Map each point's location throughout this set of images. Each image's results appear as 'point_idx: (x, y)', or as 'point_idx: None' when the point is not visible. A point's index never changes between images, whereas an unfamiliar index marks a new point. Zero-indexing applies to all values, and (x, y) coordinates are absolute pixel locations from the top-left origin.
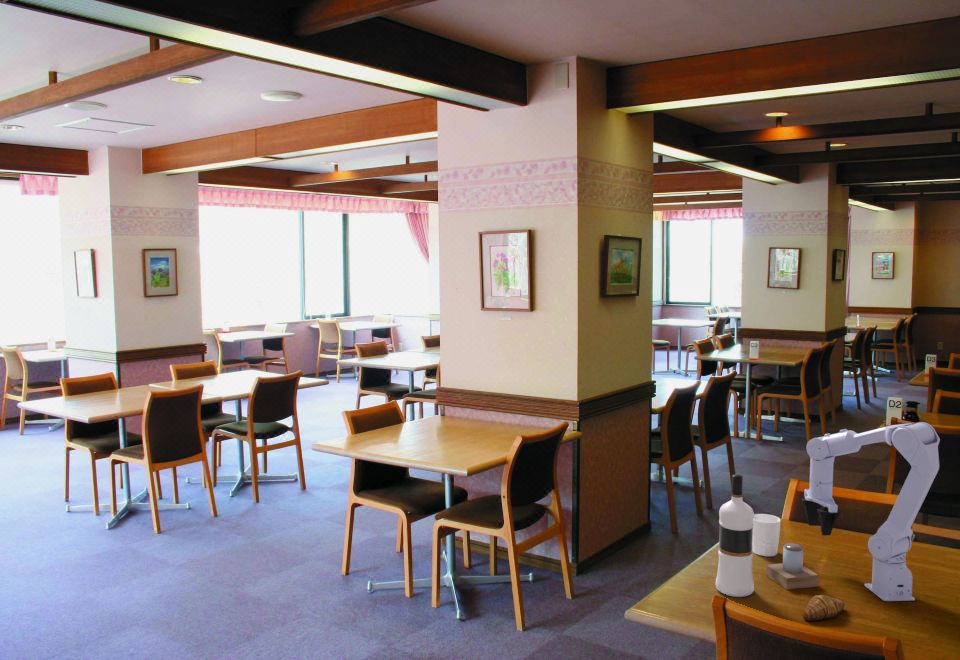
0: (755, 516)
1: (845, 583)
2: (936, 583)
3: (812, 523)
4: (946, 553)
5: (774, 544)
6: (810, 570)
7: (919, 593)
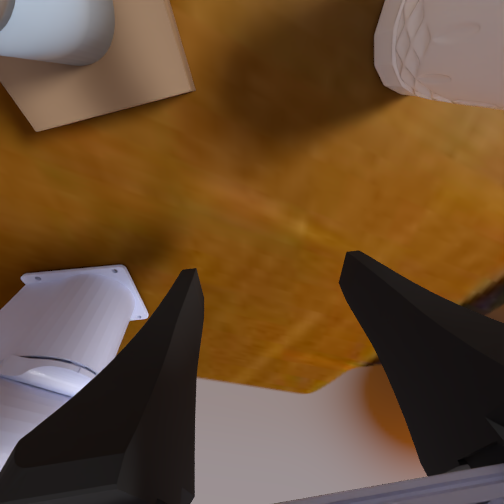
0: None
1: (130, 226)
2: None
3: (348, 273)
4: (297, 390)
5: (404, 52)
6: (86, 115)
7: None
